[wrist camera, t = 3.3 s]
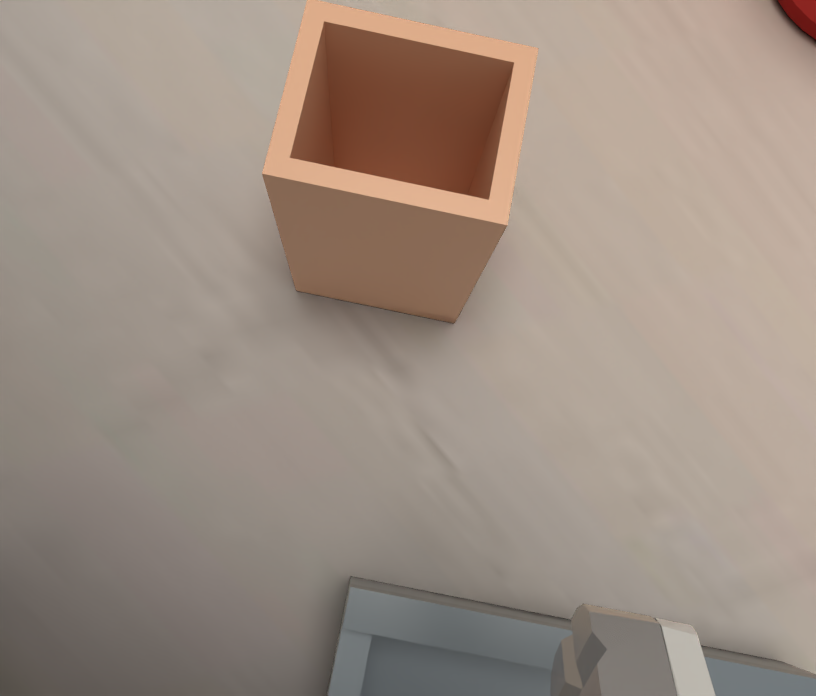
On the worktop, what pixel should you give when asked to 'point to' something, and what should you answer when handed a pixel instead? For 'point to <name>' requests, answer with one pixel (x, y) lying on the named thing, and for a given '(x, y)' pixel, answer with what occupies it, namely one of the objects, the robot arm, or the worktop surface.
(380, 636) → the tray
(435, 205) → the small crate
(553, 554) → the worktop surface
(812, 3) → the canned food
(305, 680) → the worktop surface
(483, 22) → the worktop surface
